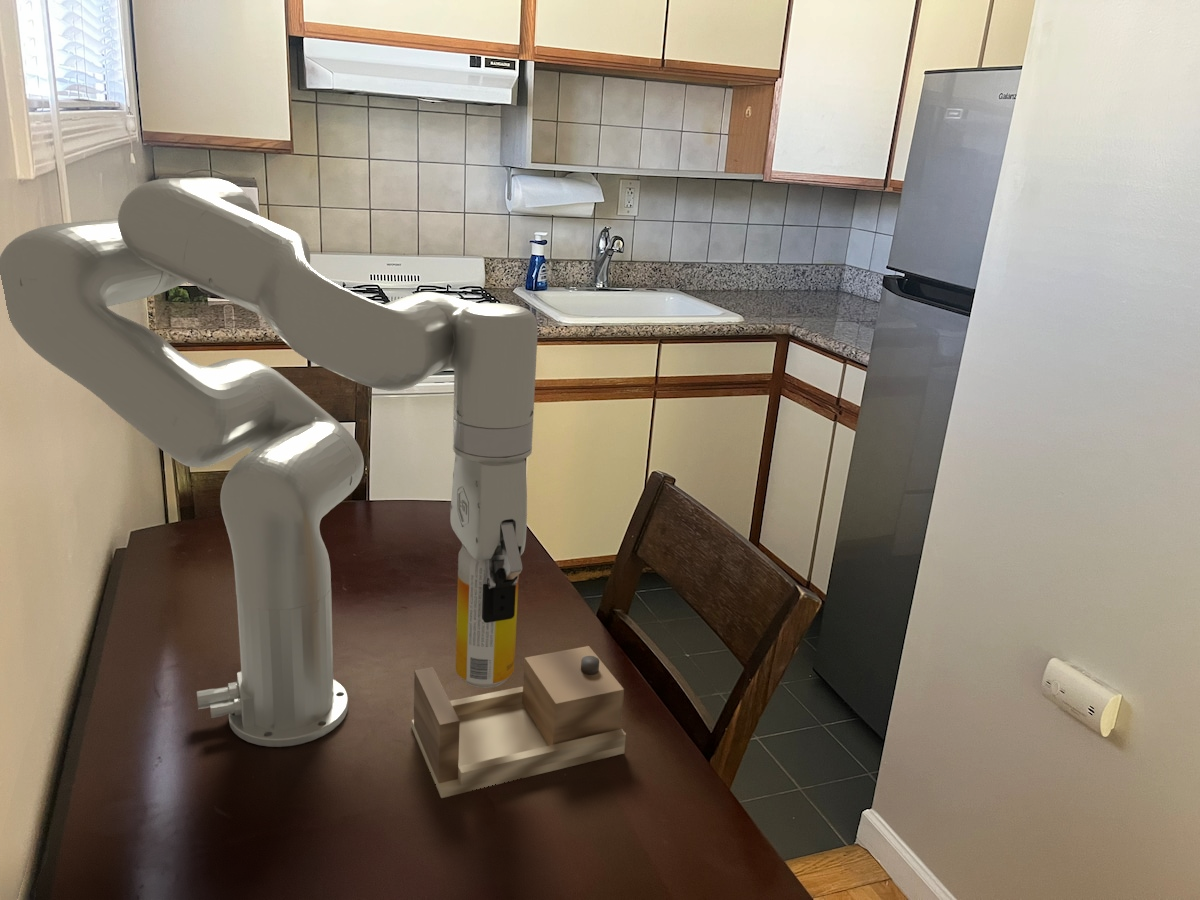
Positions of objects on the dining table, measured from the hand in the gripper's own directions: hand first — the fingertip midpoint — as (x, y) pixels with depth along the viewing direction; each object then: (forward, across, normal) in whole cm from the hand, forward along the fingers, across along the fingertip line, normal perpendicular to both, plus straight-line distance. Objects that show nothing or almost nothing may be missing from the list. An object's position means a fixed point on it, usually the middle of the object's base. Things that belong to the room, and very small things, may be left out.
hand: (487, 601), depth 91 cm
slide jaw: (+17, 0, +10) cm, 20 cm away
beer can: (+9, 0, 0) cm, 9 cm away
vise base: (+18, 0, +4) cm, 18 cm away
